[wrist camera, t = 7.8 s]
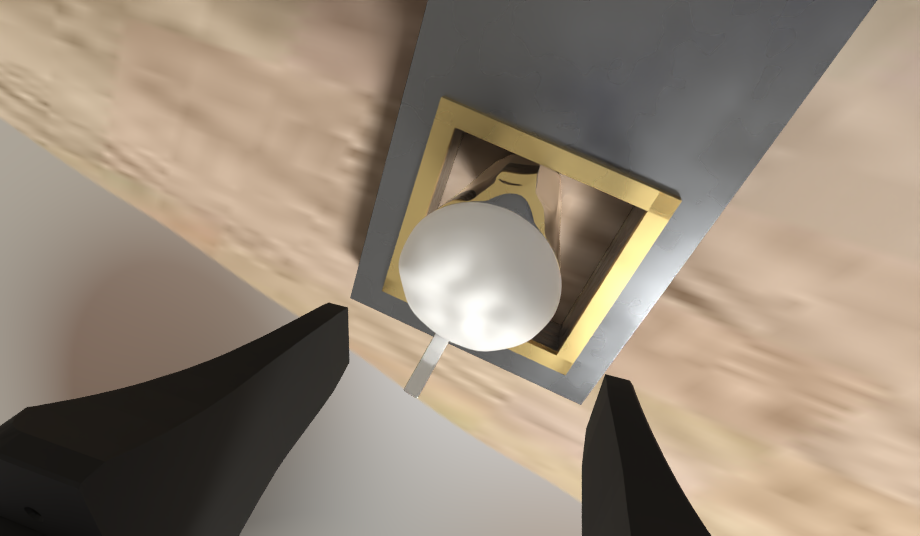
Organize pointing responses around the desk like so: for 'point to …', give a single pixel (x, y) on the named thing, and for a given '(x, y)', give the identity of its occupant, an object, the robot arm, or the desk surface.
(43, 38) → the desk surface
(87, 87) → the desk surface
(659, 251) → the grey board with holes
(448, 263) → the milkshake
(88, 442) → the robot arm
